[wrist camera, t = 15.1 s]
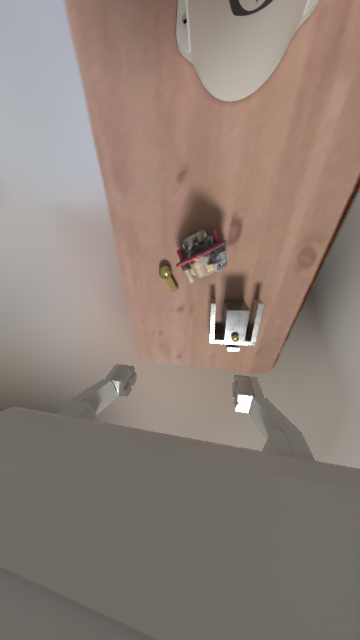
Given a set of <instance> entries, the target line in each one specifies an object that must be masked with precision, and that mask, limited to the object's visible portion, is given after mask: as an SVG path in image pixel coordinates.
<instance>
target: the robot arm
mask: <svg viewBox="0 0 360 640" xmlns="http://www.w3.org/2000/svg"><path fill="white" fill-rule="evenodd" d="M319 1H320V0H178V7H177V25H176V40H177V47H178V50H179V52H180V53H181V54H182V56H184V57H185V58H186V59H187V60H188V61H190V62H191V63H192V64H193V65H194V67H195V69H196V71H197V73H198V75H199V78H200V80H201V82H202V84H203V85H204V87H205V88H206V89H207V90H208V92H209V93H210V94H212V95H213V96H214V97H216V98H218V99H220V100H223V101H237V100H240V99H243V98H245V97H247V96H249V95H250V94H252V93H253V92H255V91H256V90H257V89H258V88H259V87H260V86H261V85H262V84H263V83H264V82H265V81H266V80H267V79H268V78H269V77H270V75H271V74H272V73H273V71H274V70H275V68H276V67H277V65H278V64H279V62H280V60H281V58H282V57H283V55H284V53H285V51H286V49H287V47H288V45H289V43H290V41H291V39H292V37H293V36H294V34H295V32H296V31H297V29H298V28H299V27H300V26H301V25H302V24H303V23H304V21H305V20H306V19H307V18H308V17H309V15H310V14H311V13H312V12H313V10H314V9H315V8H316V6H317V4H318V3H319ZM185 19H187V23H186V24H184V23H183V22H184V20H185ZM135 381H136V373H135V372H134V366H128V365H119V364H117V365H115V366H114V367H113V369H112V370H111V371H110V373H109V374H108V375H107V376H106V378H105V379H104V380H101V381H99V382H98V383H96V384H94V385H93V386H91V387H89V388H88V389H86V390H85V391H83V392H81V393H79V394H78V395H76V396H75V397H73V398H72V399H71V400H70V401H69V402H68V403H67V405H66V406H65V407H64V408H63V409H62V410H61V411H60V412H59V414H52V413H46V412H41V411H36V410H30V409H25V408H20V407H12V408H9V409H7V410H4V411H2V412H0V640H360V469H357V468H352V467H347V466H341V465H335V464H329V463H324V462H319V461H315V459H314V457H313V455H312V453H311V451H310V449H309V447H308V445H307V443H306V441H305V439H304V437H303V434H302V433H301V432H300V431H299V430H298V429H297V428H296V427H295V426H294V425H293V424H292V423H291V422H290V421H289V420H288V419H287V418H286V417H285V416H284V415H283V414H282V413H281V412H280V411H279V410H278V409H277V408H276V407H275V406H274V405H273V404H272V403H271V402H270V401H269V400H268V399H266V398H264V396H263V393H262V390H261V387H260V384H259V382H258V379H257V377H250V376H240V375H239V376H238V375H234V382H233V387H232V390H233V396H234V397H235V399H234V404H235V410H236V411H238V412H244V413H249V415H250V417H251V418H252V420H253V421H254V422H255V424H256V425H257V427H258V428H259V429H260V431H261V432H262V434H263V435H264V436H265V438H266V439H267V441H266V443H265V445H264V448H263V451H258V450H252V449H247V448H241V447H235V446H230V445H224V444H219V443H213V442H208V441H202V440H197V439H191V438H186V437H180V436H175V435H169V434H164V433H158V432H152V431H147V430H141V429H135V428H130V427H124V426H118V425H114V424H108V423H102V422H100V419H99V417H98V416H97V414H98V413H99V412H100V411H102V410H103V409H104V408H105V407H106V406H107V405H109V404H110V403H111V402H112V401H113V400H114V399H115V398H117V397H118V395H119V396H128V395H129V393H130V391H131V386H132V385H134V383H135Z"/></svg>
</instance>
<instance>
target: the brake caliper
mask: <svg viewBox="0 0 360 640" xmlns="http://www.w3.org/2000/svg"><path fill="white" fill-rule="evenodd" d="M225 243H226V241H222V242H221V241H220V240H219V237H218V234H217V231H216V230H214V231H213V233H212V235H211V236H208V235H207V233H206V231H205V229H201V230H199V231H198V232H196V233H195V234H193V235H191V236H189V237H187V238H185V239H183V244H182V245H183V249H180V250H177V254H178V256H179V258H180V263H178V264H177V265H176V266H177V267H179V266H181V267H182V270H183V271H184V273H185V275H186V276H187V278H188V280H189V282H190V283H193V282H194V278H195V276H197V277H198V278H202V277H205V276H208V275H209V274H211V273H213V272H214V271H215V272H218V271H221V270H222V269H223V266H224V267H225V266H226V265H227V258H226V252H225V249H224V244H225Z"/></svg>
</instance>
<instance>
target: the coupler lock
mask: <svg viewBox="0 0 360 640" xmlns="http://www.w3.org/2000/svg"><path fill="white" fill-rule="evenodd" d="M249 313H250V310H249V308H248V306H247V305H246V303H245V301H244V300H224V312H223V325H222V334H223V341H224V344H229V345H244V341H245V336H246V330H247V324H248V319H249Z"/></svg>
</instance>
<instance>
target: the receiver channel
mask: <svg viewBox="0 0 360 640" xmlns="http://www.w3.org/2000/svg"><path fill="white" fill-rule="evenodd" d="M263 306H264V303H263V302H262V301H261V300H260V299H259V298H254V301H253V306H252V312H251V317H250V323H249V328H248V334H246V336H245V341H244V345H255V342H256V337H257V333H258V328H259V324H260V319H261V315H262V310H263ZM215 311H216V301H215V298H211V310H210V343H216V344H224V341H223V334H222V333H214V331H215ZM226 346H227V351H238V352H239V345H229V344H226Z"/></svg>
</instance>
